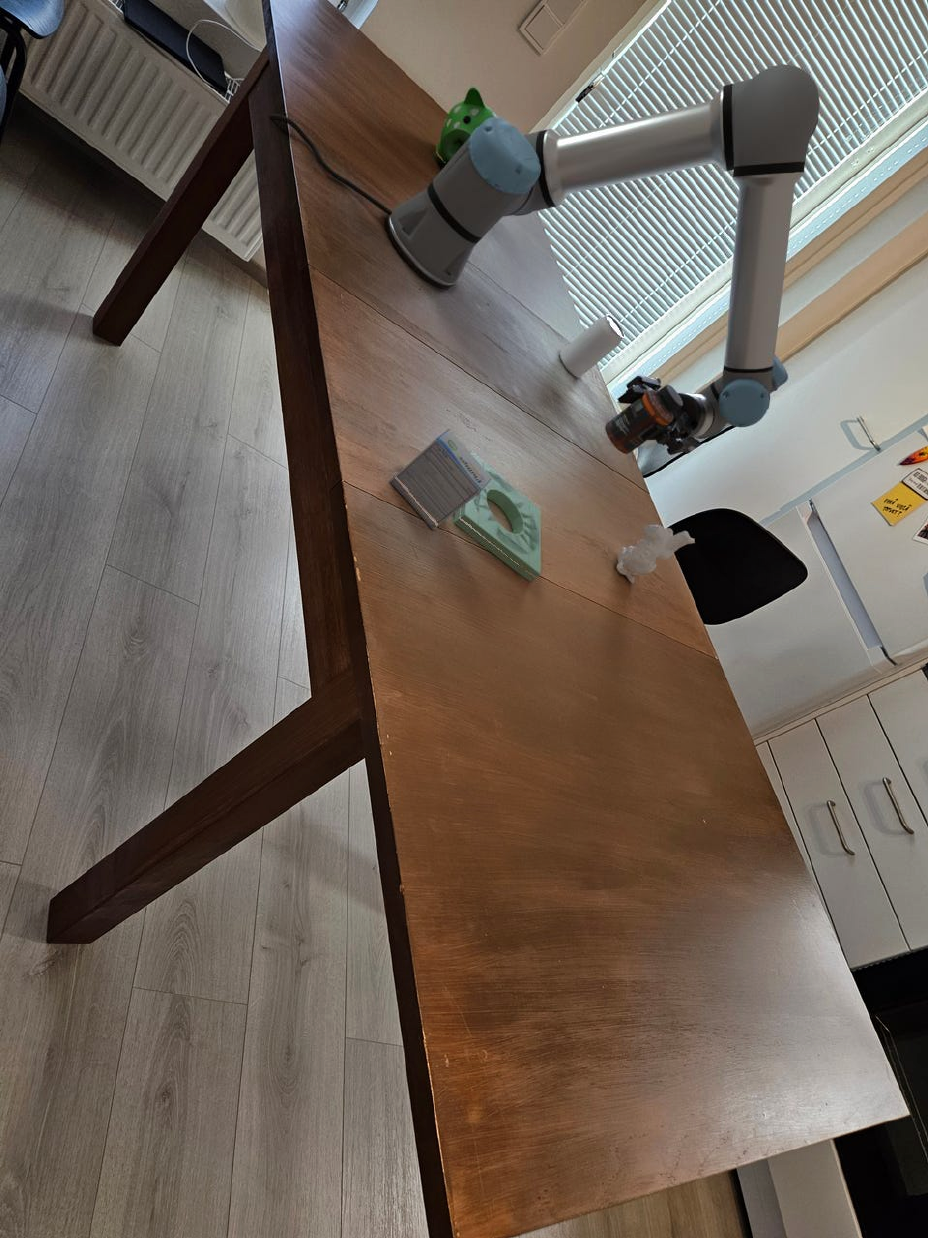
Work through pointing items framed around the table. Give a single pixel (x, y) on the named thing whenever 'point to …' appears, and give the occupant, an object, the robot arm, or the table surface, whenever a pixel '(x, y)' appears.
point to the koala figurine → (650, 550)
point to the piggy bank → (462, 124)
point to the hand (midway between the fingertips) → (637, 414)
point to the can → (592, 345)
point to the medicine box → (442, 478)
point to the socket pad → (523, 519)
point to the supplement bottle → (642, 418)
